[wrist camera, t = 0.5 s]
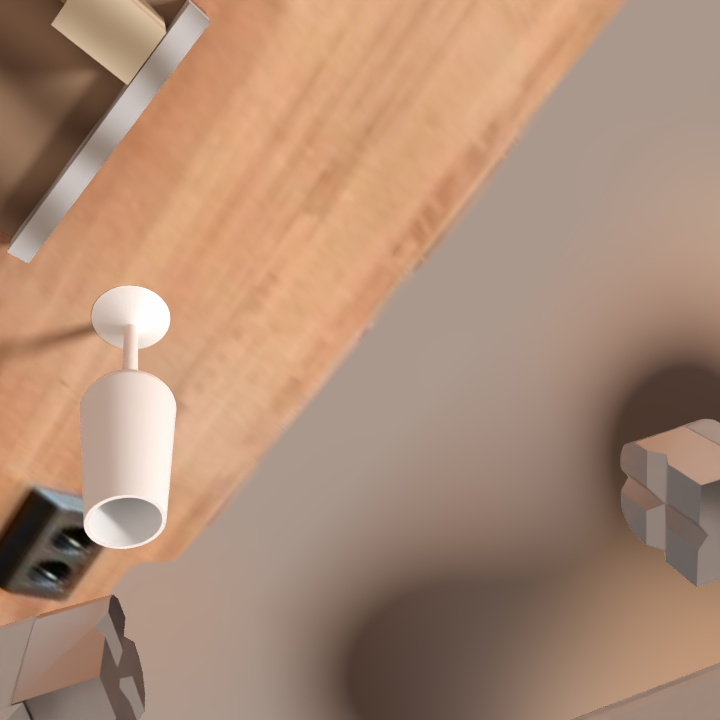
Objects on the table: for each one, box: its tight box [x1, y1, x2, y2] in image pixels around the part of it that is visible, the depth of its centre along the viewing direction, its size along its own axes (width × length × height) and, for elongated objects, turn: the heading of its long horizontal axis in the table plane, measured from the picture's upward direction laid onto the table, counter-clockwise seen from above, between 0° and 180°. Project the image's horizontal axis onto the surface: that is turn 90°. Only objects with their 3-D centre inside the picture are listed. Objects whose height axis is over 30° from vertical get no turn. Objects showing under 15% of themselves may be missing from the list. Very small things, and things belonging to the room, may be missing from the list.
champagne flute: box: [80, 286, 176, 549], centre depth 49 cm, size 7×7×24 cm
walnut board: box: [0, 0, 210, 263], centre depth 44 cm, size 22×14×4 cm, turn 135°
